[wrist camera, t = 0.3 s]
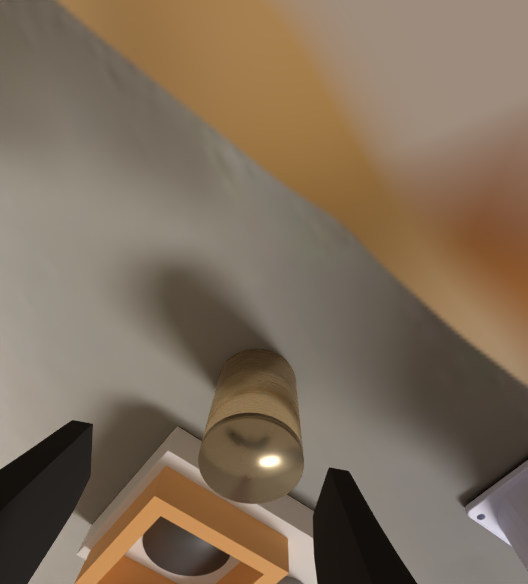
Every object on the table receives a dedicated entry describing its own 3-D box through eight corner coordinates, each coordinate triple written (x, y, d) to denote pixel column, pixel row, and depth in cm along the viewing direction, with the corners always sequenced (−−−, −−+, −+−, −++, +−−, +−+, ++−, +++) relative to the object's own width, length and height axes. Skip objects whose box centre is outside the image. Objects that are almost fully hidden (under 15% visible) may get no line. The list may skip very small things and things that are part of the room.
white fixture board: (368, 545, 25) (385, 613, 21) (270, 621, 28) (269, 692, 24) (177, 425, 22) (156, 479, 18) (91, 525, 25) (58, 589, 21)
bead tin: (311, 378, 21) (325, 459, 15) (264, 427, 22) (260, 519, 16) (249, 334, 20) (239, 401, 14) (204, 388, 21) (177, 469, 15)
